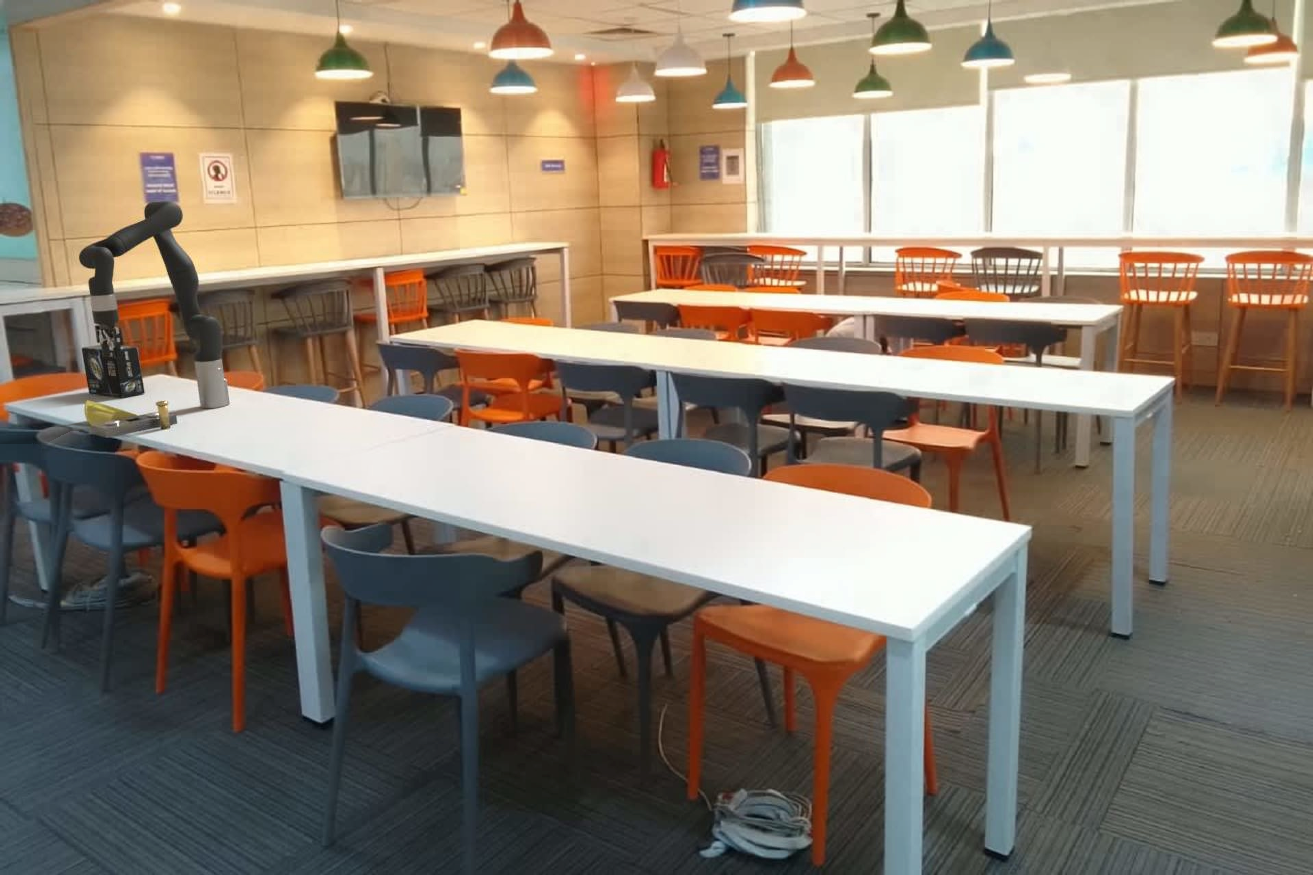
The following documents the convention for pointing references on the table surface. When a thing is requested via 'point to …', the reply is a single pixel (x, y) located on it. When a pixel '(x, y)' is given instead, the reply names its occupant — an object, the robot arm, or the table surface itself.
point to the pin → (163, 414)
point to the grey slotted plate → (129, 425)
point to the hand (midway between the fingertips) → (112, 357)
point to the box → (113, 372)
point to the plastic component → (103, 413)
